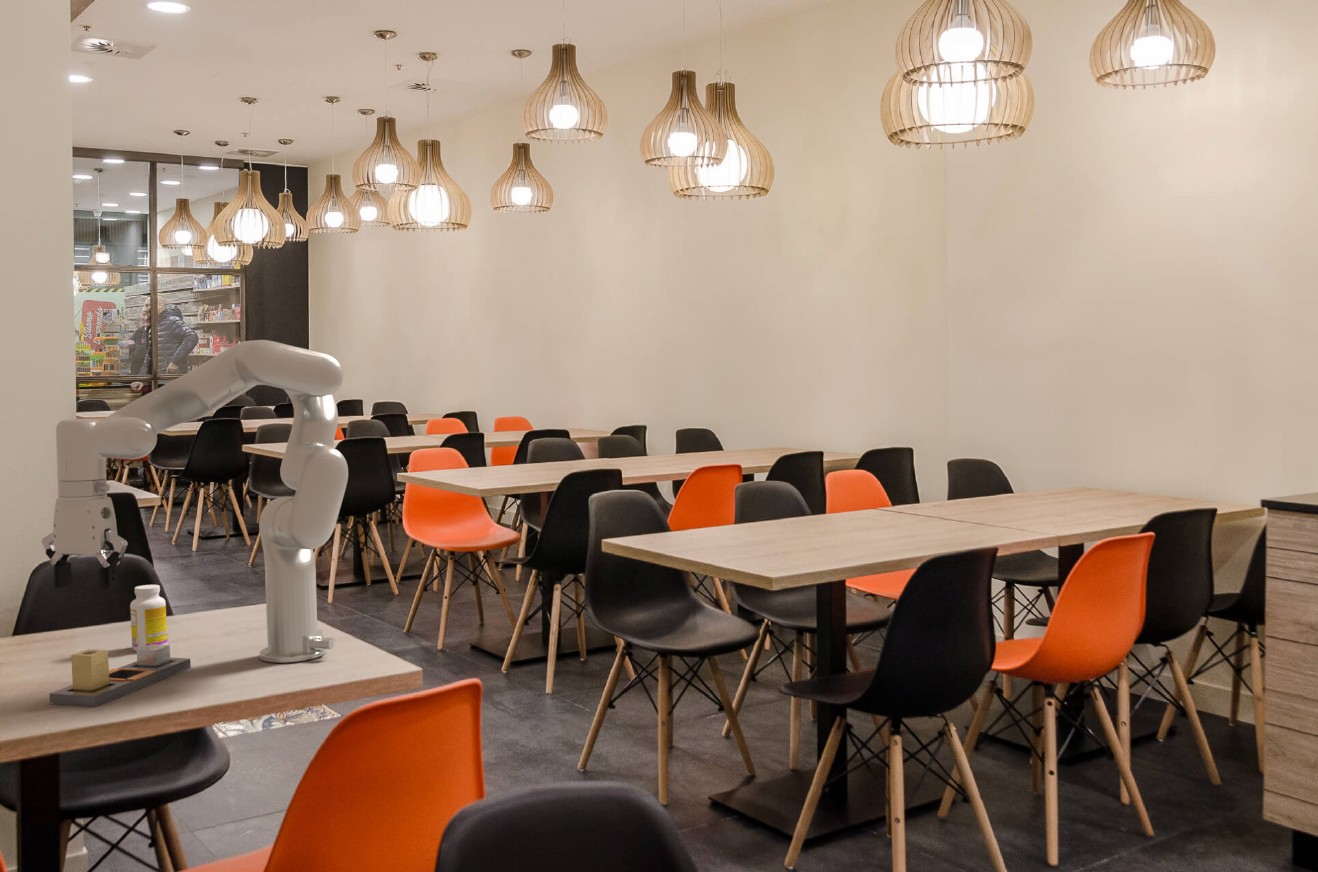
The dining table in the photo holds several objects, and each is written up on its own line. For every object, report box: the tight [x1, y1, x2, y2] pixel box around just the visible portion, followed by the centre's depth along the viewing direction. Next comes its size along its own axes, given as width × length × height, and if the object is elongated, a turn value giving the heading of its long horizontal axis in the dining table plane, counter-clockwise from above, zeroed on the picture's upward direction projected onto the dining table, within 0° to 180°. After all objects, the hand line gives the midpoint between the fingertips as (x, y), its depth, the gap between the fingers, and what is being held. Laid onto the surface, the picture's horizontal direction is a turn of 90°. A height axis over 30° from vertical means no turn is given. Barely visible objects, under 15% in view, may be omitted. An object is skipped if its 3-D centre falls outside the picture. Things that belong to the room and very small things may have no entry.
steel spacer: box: [136, 644, 171, 668], centre depth 205 cm, size 4×4×5 cm
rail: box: [49, 657, 192, 708], centre depth 198 cm, size 9×25×2 cm, turn 167°
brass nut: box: [70, 648, 110, 693], centre depth 190 cm, size 4×4×8 cm
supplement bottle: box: [129, 584, 169, 652], centre depth 225 cm, size 7×7×13 cm
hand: (85, 587), depth 191 cm, fingers open, 9 cm apart
